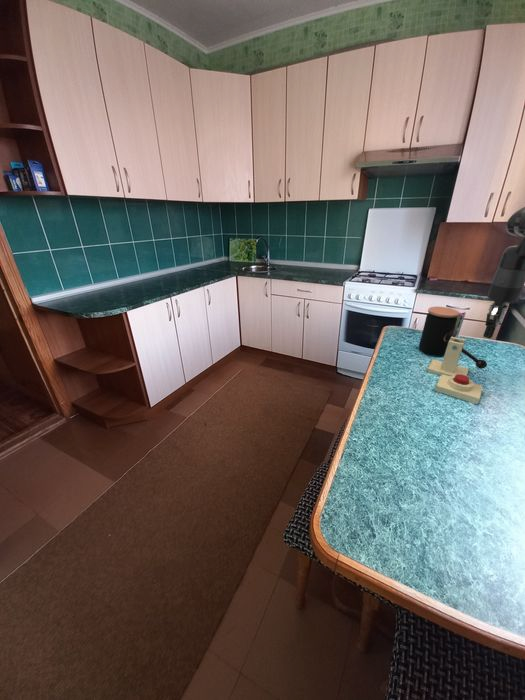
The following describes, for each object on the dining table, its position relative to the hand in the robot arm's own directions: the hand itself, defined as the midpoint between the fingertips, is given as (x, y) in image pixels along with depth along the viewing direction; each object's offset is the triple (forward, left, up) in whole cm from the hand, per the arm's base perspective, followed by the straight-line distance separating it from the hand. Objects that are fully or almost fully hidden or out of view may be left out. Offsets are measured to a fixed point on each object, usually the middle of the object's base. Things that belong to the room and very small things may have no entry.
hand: (487, 337), depth 93 cm
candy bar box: (+15, -25, -18) cm, 34 cm away
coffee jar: (+16, -18, -18) cm, 29 cm away
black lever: (+4, -3, -10) cm, 11 cm away
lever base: (+8, -3, -17) cm, 19 cm away
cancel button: (+3, +9, -14) cm, 17 cm away
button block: (+3, +9, -17) cm, 20 cm away
